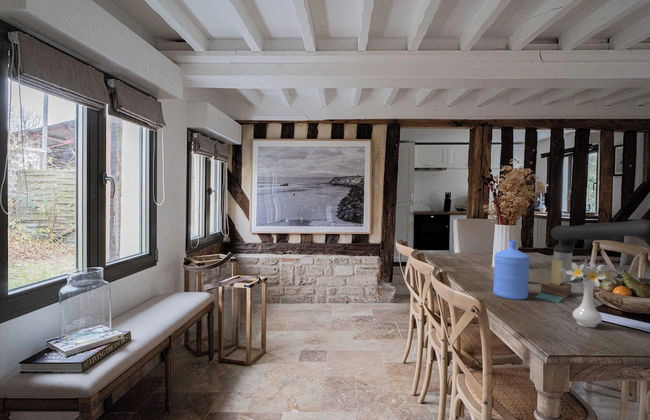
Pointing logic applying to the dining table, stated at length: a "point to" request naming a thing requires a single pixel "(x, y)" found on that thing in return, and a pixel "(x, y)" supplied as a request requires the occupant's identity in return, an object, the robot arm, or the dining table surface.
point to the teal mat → (549, 297)
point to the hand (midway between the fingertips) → (583, 276)
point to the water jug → (511, 273)
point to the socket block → (556, 289)
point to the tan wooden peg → (556, 272)
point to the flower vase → (588, 291)
